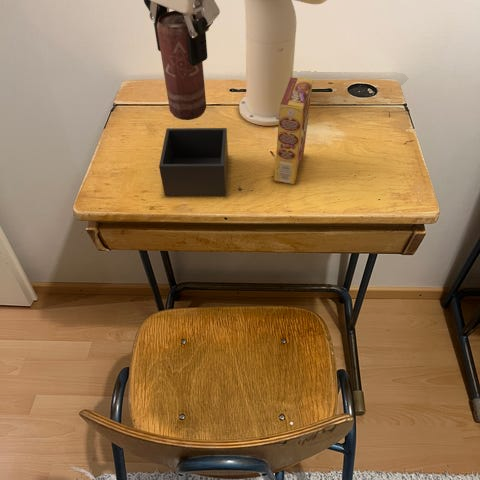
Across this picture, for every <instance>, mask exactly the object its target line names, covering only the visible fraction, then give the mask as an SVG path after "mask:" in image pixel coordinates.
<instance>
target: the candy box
mask: <svg viewBox="0 0 480 480" xmlns="http://www.w3.org/2000/svg"><path fill="white" fill-rule="evenodd" d="M313 86H314V80H313V79H310V78H303V77H301V78H297V77H293V78H290V80H289V83H288V86H287V89H286V91H285V94H284V96H283V99H282V101H281V103H280V114H279V125H277V126H278V127H277V140H276V150H275V153H276V154H275V165H274V166H275V167H274V178H273V181H274V182H280V183H283V184H289V185H295V184H296V180H297V176H298V173H299V170H300V167H301V164H302V161H303V158H304V155H305V154H304V153H305V148H306V147H305V146H306V139H307V132H308V131H307V130H308V123H309V116H310V109H311V101H312V100H311V99H312V92H313Z"/></svg>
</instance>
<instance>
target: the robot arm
mask: <svg viewBox="0 0 480 480" xmlns="http://www.w3.org/2000/svg"><path fill="white" fill-rule="evenodd" d="M243 1H244V15H245V16H244V19H245V22H244V23H245V88H246V89H245V90H246V91H245V93H246V94H245V96H243V97H242V99H241V100H240V102H239V109H238V110H239V114H240V116H241V117H242V118H243V119H245V121H247V122H249V123H252V124H254V125H258V126H266V127H272V126H279V114H280V103H281V101H282V99H283V96H284V94H285V91H286V89H287V86H288V83H289V80H290V78H294V64H295V53H296V36H297V14H296V10H295V5H294V2H293V0H243ZM295 1H297V2H300V3H304V4H309V5H321V4H324V3H325V2H327V1H328V0H295ZM143 3H144V4H145V7H146V8H147V10H148V12H149V18H150V20H151V21H152V22H153V27H154V33H155V40H156V46H157V51H158V52H161V51H160V45H159V38H158V32H157V23H158V18H159V17H160V16H161V15H162V14H164V13H167V12H170V10H171V11H177V12H180V13H183V16H184V19H185V22H186V25H187V28H188V31H189V34H190V36H188V37H187V44H188V53H189V62H190V65H192V66H196V65H197V64H199V63H201V62H205V61H206V60H207V59H208V45H207V43H208V42H207V32H208V31H210V27H211V26H212V25H213V23H214V21H215V20H216V19H217V18H218V17H219V15H220V13H221V11H220V8H219V6H218V5H217V3H216V1H215V0H143ZM193 14H196V15H197V18H198V21H197V23H196V24H195V22H194V19H193V16H192V15H193ZM296 78H302V77H301V76H297V77H296Z"/></svg>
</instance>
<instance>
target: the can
mask: <svg viewBox="0 0 480 480" xmlns="http://www.w3.org/2000/svg"><path fill="white" fill-rule="evenodd" d="M192 16H193V19H194V22H195V24H196V23H197V21H198V18H197V15H196V13H195V14H193V15H192ZM157 32H158V38H159V45H160V51H159V52H160V56H161V63H162V70H163V77H164V83H165V88H166V94H167V95H166V96H167V102H168V108H169V112H170V113H171V115H173V117H174V118H176V119H178V120H181V121H191V120H196V119H198V118H200V117H201V116H203V115H204V114H205V112H206V110H207V97H206V86H205V75H204V65H203V64H204V63H203V62H204V61H203V62H201V63H199V64H197V65H196V66H192V65H190V62H189V53H188V44H187V37H188V36H190V34H189V31H188V28H187V25H186V22H185V19H184V16H183V13H180V12H177V11H175V10H171V11H170V10H169V12H167V13H164V14H162V15H161V16H160V17H159V18H158V23H157Z"/></svg>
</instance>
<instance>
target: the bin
mask: <svg viewBox="0 0 480 480" xmlns="http://www.w3.org/2000/svg"><path fill="white" fill-rule="evenodd" d="M228 167H229V147H228V127H175V128H174V127H173V128H171V127H169V128H166V129H165V133H164V138H163V145H162V150H161V154H160V159H159V164H158V168H159V174H160V178H161V183H162V188H163V193H164V197H226V196H227V184H228V183H227V182H228V171H229V168H228Z"/></svg>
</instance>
